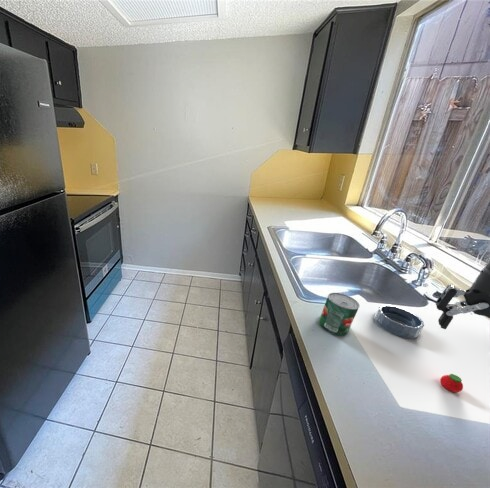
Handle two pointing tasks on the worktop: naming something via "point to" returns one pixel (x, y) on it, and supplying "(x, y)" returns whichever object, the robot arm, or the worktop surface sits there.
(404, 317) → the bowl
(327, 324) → the canned tomato
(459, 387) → the strawberry
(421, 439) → the worktop surface
